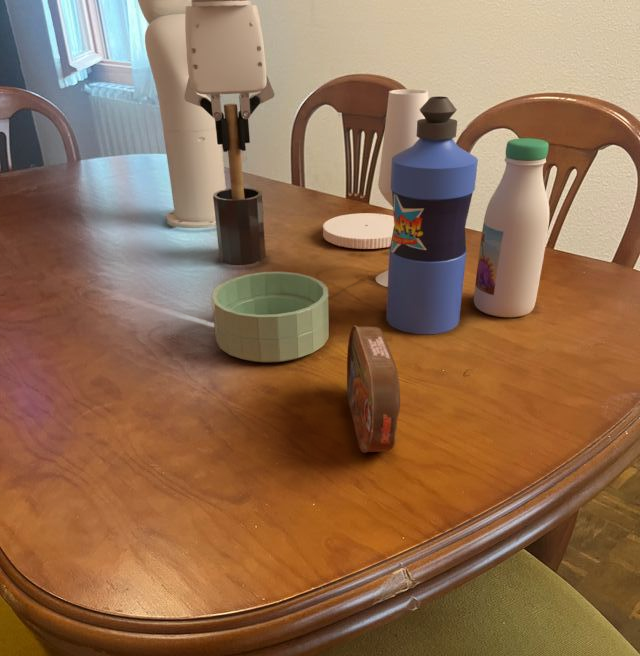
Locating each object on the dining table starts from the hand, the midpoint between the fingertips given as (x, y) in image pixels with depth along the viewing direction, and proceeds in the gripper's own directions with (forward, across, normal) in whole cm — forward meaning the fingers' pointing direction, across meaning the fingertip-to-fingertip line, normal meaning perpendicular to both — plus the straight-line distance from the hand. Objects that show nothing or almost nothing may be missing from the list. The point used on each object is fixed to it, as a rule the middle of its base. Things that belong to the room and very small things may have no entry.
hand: (233, 148), depth 92 cm
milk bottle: (+17, -32, +25) cm, 43 cm away
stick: (+14, 0, 0) cm, 14 cm away
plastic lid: (+16, -20, -5) cm, 27 cm away
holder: (+16, 0, 0) cm, 16 cm away
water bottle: (+17, -20, +26) cm, 37 cm away
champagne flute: (+16, -21, +13) cm, 30 cm away
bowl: (+16, -1, +28) cm, 33 cm away
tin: (+17, -8, +48) cm, 51 cm away
